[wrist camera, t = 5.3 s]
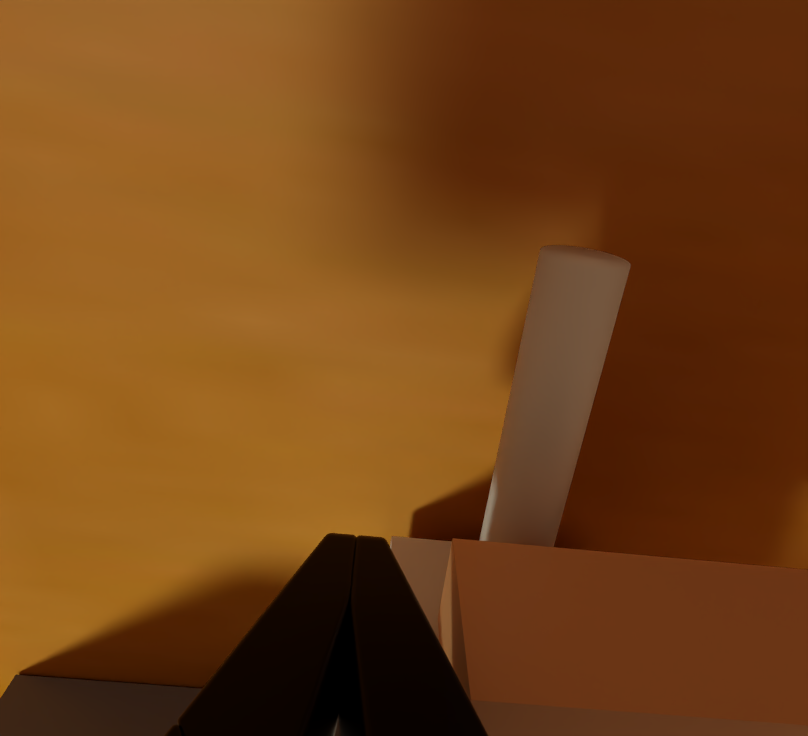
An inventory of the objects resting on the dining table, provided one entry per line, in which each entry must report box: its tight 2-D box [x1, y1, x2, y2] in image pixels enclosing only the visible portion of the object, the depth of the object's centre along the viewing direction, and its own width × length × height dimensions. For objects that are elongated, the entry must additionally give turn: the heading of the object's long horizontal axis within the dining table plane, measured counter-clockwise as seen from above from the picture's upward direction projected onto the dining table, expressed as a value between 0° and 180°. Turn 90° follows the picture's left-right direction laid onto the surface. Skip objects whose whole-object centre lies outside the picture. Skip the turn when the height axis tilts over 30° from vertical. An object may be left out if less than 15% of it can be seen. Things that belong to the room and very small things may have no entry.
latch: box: [438, 538, 808, 736], centre depth 8 cm, size 2×8×3 cm, turn 84°
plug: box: [390, 245, 631, 640], centre depth 10 cm, size 11×4×4 cm, turn 173°
